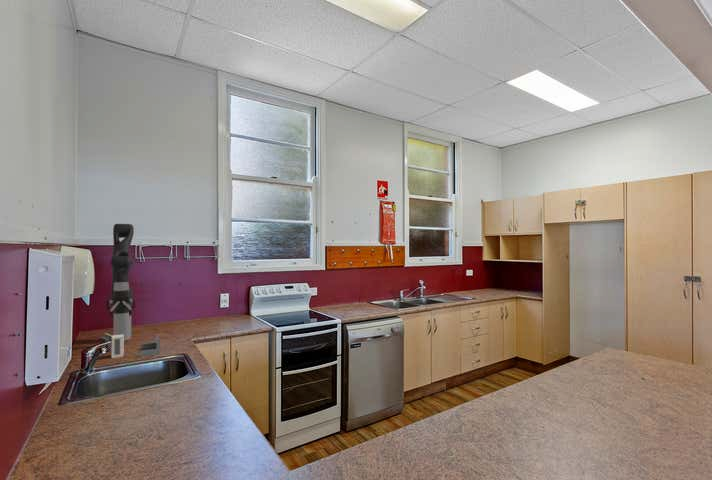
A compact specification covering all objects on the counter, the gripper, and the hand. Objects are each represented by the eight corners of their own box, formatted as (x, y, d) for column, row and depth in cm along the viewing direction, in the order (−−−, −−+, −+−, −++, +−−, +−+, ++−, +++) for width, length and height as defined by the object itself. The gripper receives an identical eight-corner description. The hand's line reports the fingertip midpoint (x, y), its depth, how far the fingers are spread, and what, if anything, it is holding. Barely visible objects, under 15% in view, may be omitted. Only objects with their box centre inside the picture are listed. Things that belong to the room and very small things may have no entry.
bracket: (141, 349, 200) (141, 335, 199) (159, 346, 204) (159, 333, 204) (140, 356, 187) (140, 342, 187) (159, 354, 192) (159, 339, 192)
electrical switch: (118, 350, 197) (116, 334, 196) (107, 353, 193) (106, 337, 192) (110, 347, 202) (109, 331, 201) (100, 350, 198) (98, 334, 197)
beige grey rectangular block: (112, 355, 189) (112, 335, 189) (123, 353, 191) (123, 334, 191) (111, 358, 184) (111, 337, 184) (122, 356, 187) (122, 336, 187)
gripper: (135, 288, 213) (135, 314, 212) (107, 289, 205) (107, 316, 205) (135, 289, 206) (135, 316, 206) (105, 291, 199) (105, 319, 199)
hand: (121, 316), depth 206 cm, fingers open, 8 cm apart
